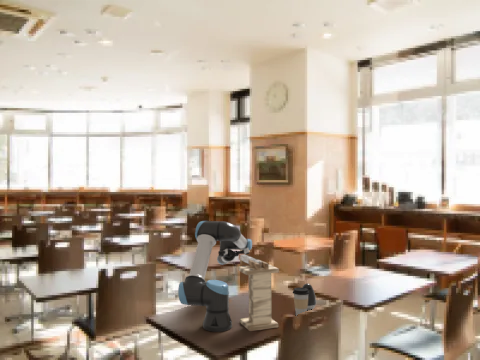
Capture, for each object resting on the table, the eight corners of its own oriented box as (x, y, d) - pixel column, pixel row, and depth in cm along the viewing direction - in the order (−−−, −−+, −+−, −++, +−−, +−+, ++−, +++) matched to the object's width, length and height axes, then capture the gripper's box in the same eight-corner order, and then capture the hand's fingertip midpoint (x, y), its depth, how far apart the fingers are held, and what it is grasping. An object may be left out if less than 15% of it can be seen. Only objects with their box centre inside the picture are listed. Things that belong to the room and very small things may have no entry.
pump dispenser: (303, 312, 235) (303, 286, 235) (296, 307, 245) (296, 282, 245) (319, 311, 238) (319, 285, 238) (311, 306, 248) (311, 281, 248)
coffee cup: (307, 313, 234) (307, 287, 234) (311, 318, 224) (311, 291, 225) (291, 313, 233) (291, 287, 234) (294, 318, 224) (294, 291, 224)
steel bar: (262, 267, 214) (262, 261, 214) (256, 268, 213) (256, 262, 213) (243, 258, 241) (243, 253, 241) (238, 259, 239) (238, 253, 240)
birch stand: (280, 327, 211) (279, 263, 211) (247, 331, 204) (247, 265, 205) (268, 318, 224) (268, 258, 224) (238, 322, 218) (238, 260, 218)
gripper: (246, 260, 271) (257, 255, 252) (210, 262, 263) (218, 257, 244) (245, 249, 273) (256, 243, 254) (209, 251, 265) (217, 245, 246)
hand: (237, 250), depth 249 cm, fingers open, 13 cm apart
